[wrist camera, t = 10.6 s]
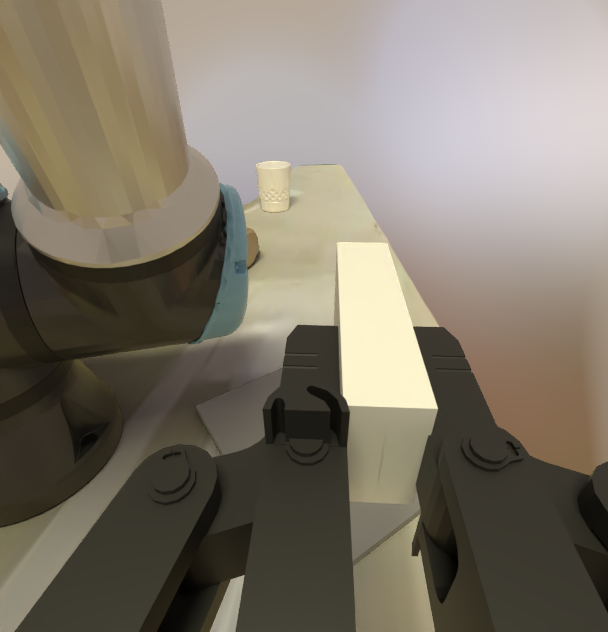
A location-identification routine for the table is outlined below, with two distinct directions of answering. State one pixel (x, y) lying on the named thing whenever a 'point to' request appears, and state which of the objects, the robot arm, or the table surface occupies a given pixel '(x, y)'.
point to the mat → (248, 428)
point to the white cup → (274, 185)
